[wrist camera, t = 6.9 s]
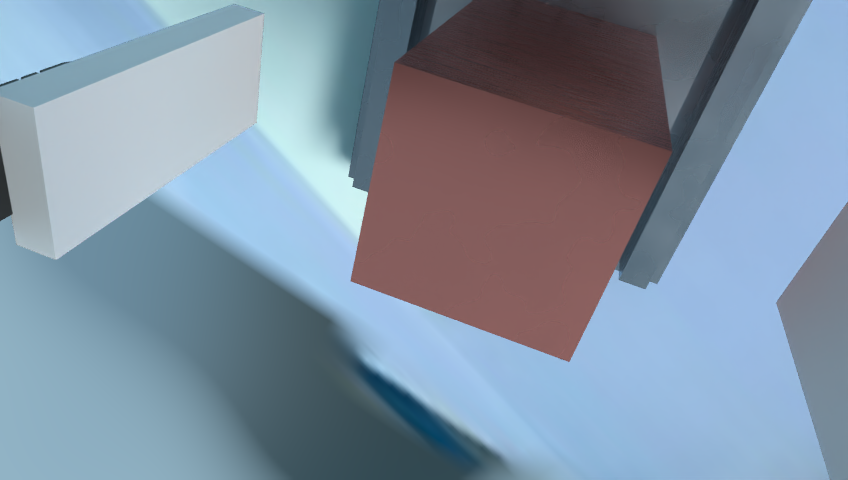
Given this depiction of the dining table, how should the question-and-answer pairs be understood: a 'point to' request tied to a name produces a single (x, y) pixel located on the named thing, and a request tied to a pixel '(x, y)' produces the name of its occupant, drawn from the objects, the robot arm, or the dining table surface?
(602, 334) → the dining table surface
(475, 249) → the block
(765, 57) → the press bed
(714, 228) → the dining table surface
